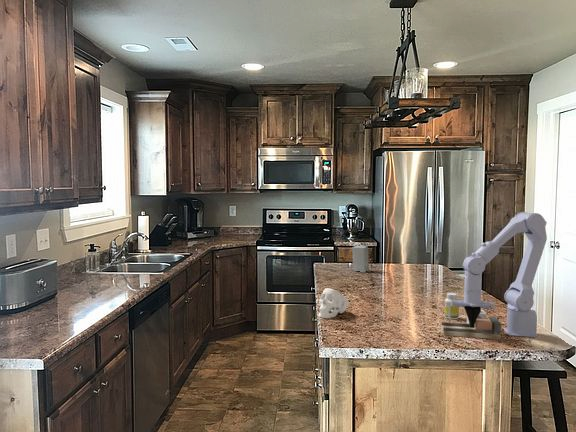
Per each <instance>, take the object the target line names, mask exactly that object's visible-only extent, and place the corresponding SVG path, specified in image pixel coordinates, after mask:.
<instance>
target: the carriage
mask: <svg viewBox="0 0 576 432" xmlns="http://www.w3.org/2000/svg"><path fill="white" fill-rule="evenodd" d="M475 329H478V330H492V322H491V321H490V318H488V319H487V318H486V319H476V322H475Z"/></svg>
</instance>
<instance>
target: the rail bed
mask: <svg viewBox="0 0 576 432" xmlns="http://www.w3.org/2000/svg"><path fill="white" fill-rule="evenodd" d="M489 320H490V321H491V322H492V330H478V329H475V326H474V328H470V326H469V324H467V322H466V323H465V322H451V321H449V322H445V321H441V324H440V327H441V332H442V334H443V336H446V337H461V338H462V337H464V338H477V339H478V338H479V339H490V340H501V339H502V337H501V336H502V323H501V322H500V321H499V319H498V318H497V317H496V316H489Z"/></svg>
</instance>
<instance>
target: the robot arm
mask: <svg viewBox="0 0 576 432" xmlns="http://www.w3.org/2000/svg"><path fill="white" fill-rule="evenodd" d="M546 227H547V220H546V219H545V218H544V216H542V214H540V213H537V212H526V211H520V212H518V213H516V214H515V216H513V217H512V218H511V219H510V221H509V222H508V224H507V225H506V226H505V227H504V228H503V229H502V230H500V231H499V233H498V234H497V235H496V236H495V237H494V238H493V239H492V240H491V241H485V242H481V244H480V247H479V248H477V250H475V251H474V252H472V253H471V255H470V256H467V257H465V258H464V260H463V262H462V263H461V265H462V268H463V270H464V286H463V287H464V288H463V289H464V292H463V299H457V300H451V306H452V307H455V306H456V307H459V308H460V307H461V308H464V311H465V313H466V317H467V316H468V320H469V326H470V328H474V326H475V322H476V319H477V317H478V315H479V314H480V312H481V310H482V309H492V310H495V303H494V302H490V301H484V300H482V280H483V279H482V275H483V273H484V271H485V270H486V265H487V264H489V263H490V262H491V261H492V260H493V259H494V258H495V257H496V256H497V255H498V254H499V253H500V248H501V247H502V246H503V245H504V244H506V242H508V241H509V240H510V239H512V237H514V236H515V235H516V234H520V233H524V234H525V236H526V238H527V239H528V241H527V245H526V247H525V250H524V253H523V257H522V260H521V263H520V266H519V269H518V272H517V275H516V278H515V281H513V282H512V283H510V285H509V288H508V289H507V290H506V291H505V293H504V296H503V297H504V301H505V302H506V303H507V307H506V309H507V310H506V311H507V312H506V327H503V331H505V333H506V334H507V335H508V336H511V337H527V338H537V337H538V335H537V329H538V328H537V327H538V326H537V325H538V315H537V312H536V310H534V309H532V308H533V307H534V303H535V302H534V295H535V291H534V289H533V286H532V285H533V283H534V280H535V277H536V274H537V271H538V269H539V268H538V267H539V265H540V262H541V258H542V255H543V252H544V249H545V246H546V243H547V239H548V238H547V237H548V236H547V229H546ZM480 308H481V309H480Z"/></svg>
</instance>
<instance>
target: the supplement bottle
mask: <svg viewBox="0 0 576 432" xmlns="http://www.w3.org/2000/svg"><path fill="white" fill-rule="evenodd" d="M457 298H458V294H457V293H455V292H454V293H453V292H447V293H446V298H445V300H444V318H446V319H447V320H457V319H459V314H460V313H459V312H460V311H459V310H460V307H456V306H455V307H452V306H451V300H458V299H457Z"/></svg>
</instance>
